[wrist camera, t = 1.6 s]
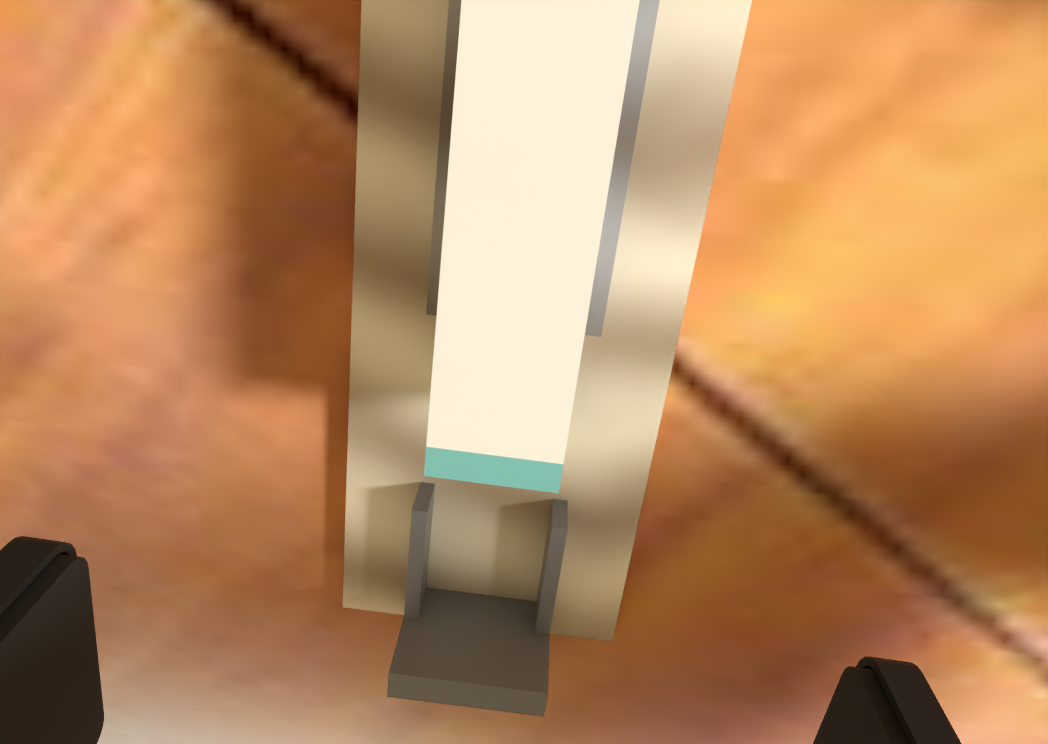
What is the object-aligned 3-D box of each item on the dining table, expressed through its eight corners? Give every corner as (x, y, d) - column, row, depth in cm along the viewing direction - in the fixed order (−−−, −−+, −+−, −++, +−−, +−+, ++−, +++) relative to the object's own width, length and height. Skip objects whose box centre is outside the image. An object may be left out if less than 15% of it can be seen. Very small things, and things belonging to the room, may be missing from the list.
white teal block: (496, -80, 23) (470, -114, 17) (630, -62, 23) (654, -90, 17) (454, 376, 30) (423, 476, 23) (560, 390, 30) (558, 493, 23)
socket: (420, 481, 32) (396, 559, 27) (567, 500, 32) (567, 581, 27) (410, 606, 35) (387, 696, 30) (546, 624, 35) (543, 716, 30)
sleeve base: (376, -208, 23) (350, -238, 21) (778, -154, 23) (806, -176, 21) (348, 592, 36) (330, 639, 33) (611, 625, 36) (615, 676, 33)
